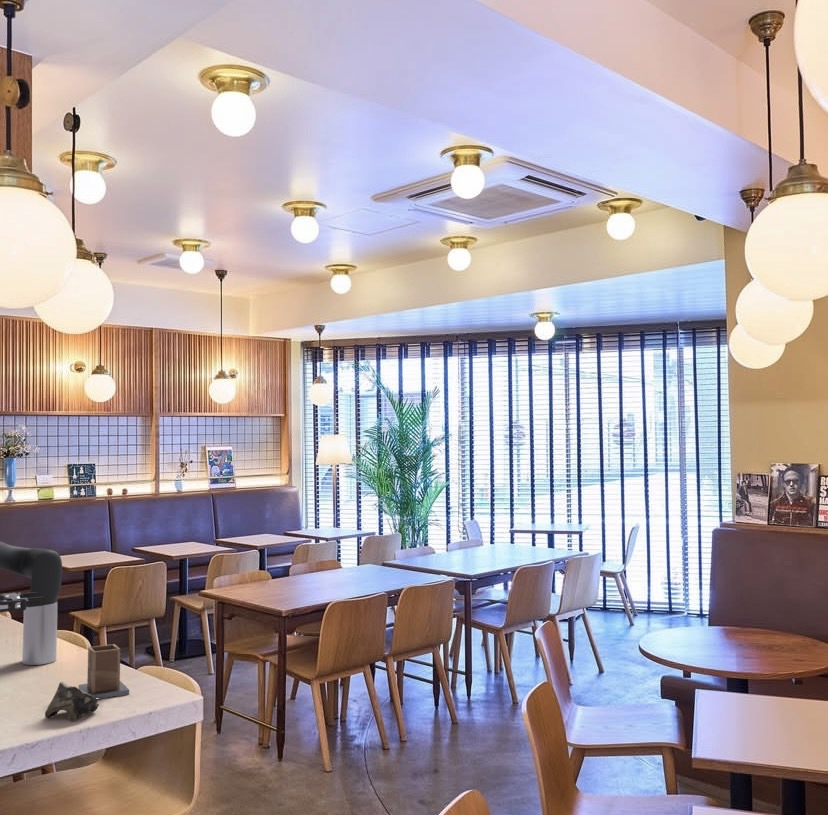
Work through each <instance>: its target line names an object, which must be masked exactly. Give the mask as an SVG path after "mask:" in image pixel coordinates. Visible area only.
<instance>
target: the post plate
mask: <svg viewBox="0 0 828 815" xmlns="http://www.w3.org/2000/svg"><path fill="white" fill-rule="evenodd" d="M78 688H79V689H80V690H82V691H84V692H85V693H88V694H90V695H92V697H93V698H94V699H96V698H103V699H106V698H105V697H110V698H113V697H112V696H116V697H119V696H118V695H123V696H127V695H126V694H129V695H130V689H129V688H128V687H127V686H126V685H125V684H124V683H123V682H122V681H121V680H120V688H119V689H112V690H105V691H98V692H92V691H91V690H90V689H89V688H88V687H87V683H83V684H78Z"/></svg>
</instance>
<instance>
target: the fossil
mask: <svg viewBox="0 0 828 815" xmlns="http://www.w3.org/2000/svg"><path fill="white" fill-rule="evenodd" d="M57 686H58V687H57V690H56V691H55V693H54V696H53V697H52V700H51V701H50V703H49V704H48V706H47V709H46V710H45V712H44V716H45V718H46V719H51V718H53V717H56V715H57V714H58V713H59V712H60V711H65V712H67V718H68V719H69V720H70V721H71V722H73V723H75V722H77V721H78V720H79V719H80V718H82V716H83V715H88V714H90V713H93V712H96V711H97V710H98V708H99V706H100V704H99V703H98V701H97V700H95V699H94V698H93V697H92V695H90V694H88V693H85V692H84V691H82V690H80V689H79V687H77V686H72V685H67V684H66V683H65V682H64V681H60V682H59V683H58V685H57ZM90 711H92V712H90ZM52 716H53V717H52ZM74 721H75V722H74Z"/></svg>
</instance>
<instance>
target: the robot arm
mask: <svg viewBox="0 0 828 815" xmlns="http://www.w3.org/2000/svg"><path fill="white" fill-rule="evenodd" d="M0 570H1V571H2V570H4V571H7V572H9V573H13V574H17V575H19V576H22V577H26V578H28V579H31V580H30V581H31V582H30V589H29V591H28V592H18V591H14V592H7V593H0V613H7V612H17V611H18V612H19V611H23V627H22V628H23V629H22V656H21V657H22V659H21V661H22V665H26V666H37V665H38V666H39V665H47V664H51V663H54V662H56V661H57V645H58V644H57V639H58V637H57V636H58V598H59V595H60V593H61V589H62V576H63V561H62V558H61V556H60V554H59V553H58V552H57V551H55V550H53V549H47V548H38V547H37V548H33V547H22V546H17V545H13V544H8V543H6V542H3V541H1V540H0Z"/></svg>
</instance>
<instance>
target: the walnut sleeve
mask: <svg viewBox="0 0 828 815" xmlns="http://www.w3.org/2000/svg"><path fill="white" fill-rule="evenodd" d="M120 678H121V648H120V647H119V646H118V645H117V644H115V643H113V644H111V643H110V644H106V645H105V644H104V645H94V646H88V648H87V681H86V682H87V683H86V684H87V687H88V688H89V689H90V690H91V691H92V692H98V691H105V690H112V689H119V688H120V681H121V680H120Z"/></svg>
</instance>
